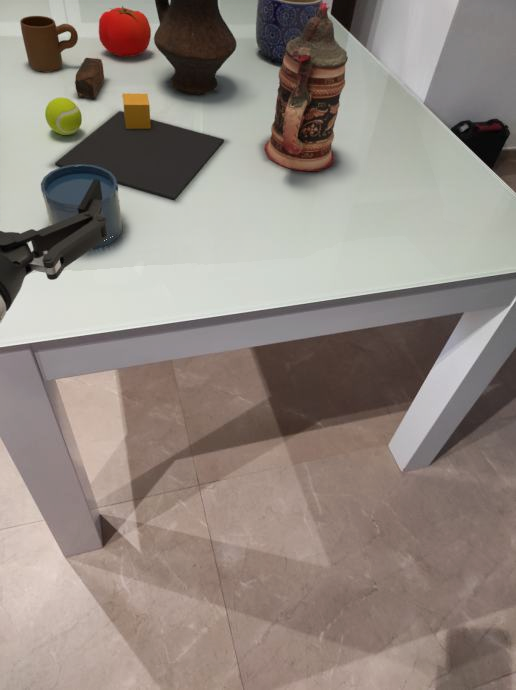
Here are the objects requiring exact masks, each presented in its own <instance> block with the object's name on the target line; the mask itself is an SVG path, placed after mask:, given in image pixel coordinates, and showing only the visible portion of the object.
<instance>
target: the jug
mask: <svg viewBox="0 0 516 690" xmlns="http://www.w3.org/2000/svg"><path fill="white" fill-rule="evenodd" d="M154 4H155V8H156V9H155V10H156V13H157V17H158V23H159V26H158V28H157V29H156V31H155V33H154V36H153V41H154V45H155V47H156V48H157V50H158V51H159V53H161V54H162V55H163V56H164V58H166V60H167V61H168V63H169V64H170V65H171V66H172V67H173V68H174V73H173V74H172V76H171V78H170V80H171V81H170V82H171V84H172V88H173V89H174V90H175V91H177V92H180V93H183V94H186V95H205V94H207V93H212V92H213V91H214V90H216V89H217V88H218V84H219V82H218V79H217V76H216V75H217V72H218V71H219V70H220V69H221V67H222V66H223V65H224V64H225V62H226V61H227V60H228V59H229V58H230V57H231V56H232V55H233V54H234V52H235V51H236V49H237V39H236V38H235V36H234V34H233V32H232V31H231V29H230V28H229V26H228V25H227V23H226V22H225V20H224V18H223V16H222V14H221V11H220V8H219V0H170V1H169V0H154Z"/></svg>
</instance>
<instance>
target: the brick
mask: <svg viewBox="0 0 516 690" xmlns="http://www.w3.org/2000/svg"><path fill="white" fill-rule="evenodd" d="M104 71H105V70H104V64H103V61H102V59H101V58H95V57H85V58H84V60H83V61H82V63H81V65H80V66H79V68H78V70H77V71H76V74H75V80H74V85H75V91H76V93H77V96H78V97H79V98H85V97H86V98H90V99H94V98H95V97H96V96H97V95H98V93H99V91H100V89H101V87H102V85H103V83H104V81H105V73H104Z"/></svg>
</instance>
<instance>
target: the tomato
mask: <svg viewBox="0 0 516 690" xmlns="http://www.w3.org/2000/svg"><path fill="white" fill-rule="evenodd" d="M109 9H110V10H108V11H104V12H103V13H102V14H101V15H100V18H99V20H98V37H99V41H100V43H101V45H102V46H103V48H105V50H106V51H108V52H109V53H110V54H112V55H116V56H119V57H121V58H122V57H123V58H124V57H135V56H139V55H140V54H142V53H144V52H145V51H147V49H148V48H149V45H150V41H151V36H152V28H151V25H150V22H149V19H148V18H147V16H146V15H145V13H143V12H141V11H140V10H133V9H130V8H127V7H124V6H123V5H121V7H115V8H110V7H109Z"/></svg>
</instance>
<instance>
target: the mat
mask: <svg viewBox="0 0 516 690" xmlns="http://www.w3.org/2000/svg"><path fill="white" fill-rule="evenodd" d="M150 124H151V129H126V124H125V116H124V111H121V110H119V111H117V112H116V113H115V114H114V115H112V117H110V118H108V120H107V121H105V122H104V123H103V124H101V125H100V126H99V127H98V128H96V129H95V130H94V131H93V132H91V133H90V134H89V135H87V137H85V138H84V139H82V140H81V141H79V143H78V144H76V145H75V146H74V147H73V148H71V149H70V150H69V151H68V152H66V153H65V154H64V155H63V156H62V157H60V158H59V159H57V161H55V162H54V165H55V166H56V167H59V168H60V167H64V166H68V165H77V164H86V165H94V166H98V167H101V168H104V169H106V170H108V171H110V172H111V173H112V174H113V175H114V176H115V177H116V180H117V184H118V185H122V186H125V187H129V188H132V189H135V190H139V191H142V192H144V193H145V192H146V193H149V194H152V195H156V196H159V197H162V198H166V199H169V200H173V201H175V200H176V199H177V198H178V196H179V195H180V194H181V193H182V191H183V190H185V188H186V187H187V186H188V185H189V184H190V182H191V181H192V180H193V179H194V177H195V176H196V175H197V174H198V173H199V171H200V170H201V169H202V168H203V167H204V165H205V164H206V163H207V162H208V161H209V160H210V158H211V157H212V156H213V155H214V153H216V151H217V150H218V149H219V148H220V146H221V145H223V143H224V142H225V139H224V138H222V137H218V136H213V135H210V134H206V133H202V132H198V131H195V130H192V129H188V128H185V127H184V128H183V127H180V126H176V125H173V124H170V123H165V122H162V121H158V120H154V119H152V118H150Z"/></svg>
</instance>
